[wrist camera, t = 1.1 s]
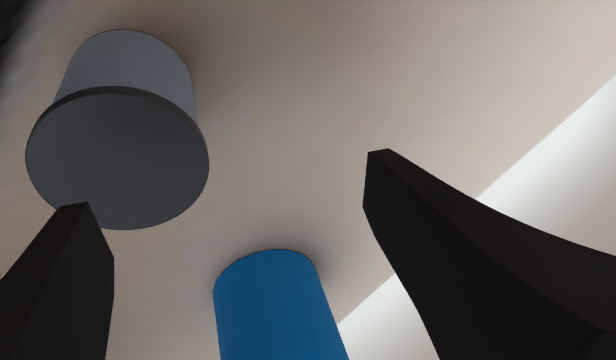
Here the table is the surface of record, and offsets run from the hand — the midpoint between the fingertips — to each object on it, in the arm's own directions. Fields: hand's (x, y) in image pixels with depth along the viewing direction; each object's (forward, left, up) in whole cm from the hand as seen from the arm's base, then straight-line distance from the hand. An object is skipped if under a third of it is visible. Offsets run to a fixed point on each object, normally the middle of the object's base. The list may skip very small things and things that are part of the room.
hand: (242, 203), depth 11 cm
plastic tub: (-3, +2, -10) cm, 10 cm away
